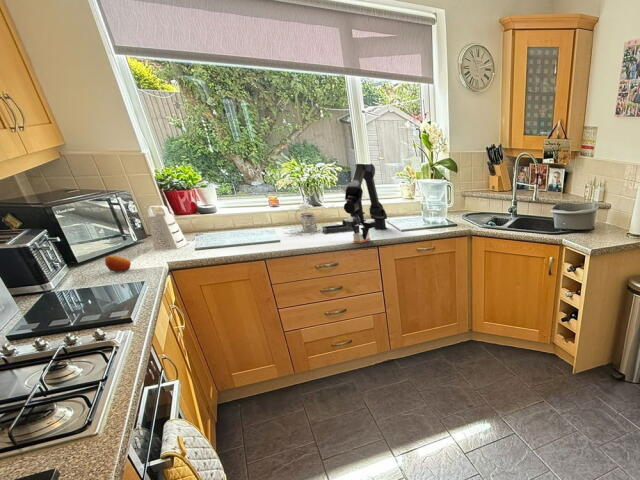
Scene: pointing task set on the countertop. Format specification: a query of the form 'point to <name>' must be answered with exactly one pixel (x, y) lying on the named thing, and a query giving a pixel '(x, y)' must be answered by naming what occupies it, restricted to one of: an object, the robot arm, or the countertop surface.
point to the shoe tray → (336, 228)
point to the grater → (165, 230)
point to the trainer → (360, 237)
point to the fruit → (117, 263)
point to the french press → (309, 217)
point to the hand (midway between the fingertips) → (361, 239)
